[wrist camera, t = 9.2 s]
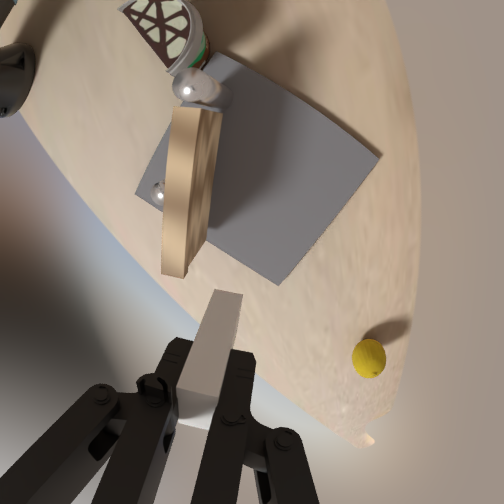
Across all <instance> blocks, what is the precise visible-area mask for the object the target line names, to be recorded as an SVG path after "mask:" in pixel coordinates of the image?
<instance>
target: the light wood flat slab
mask: <svg viewBox="0 0 504 504" xmlns="http://www.w3.org/2000/svg"><path fill="white" fill-rule="evenodd" d="M222 117H223V113H219V112H214V111H209V110H205V109H202V108H191V107H176V106H174V108H173V115H172V122H171V130H170V138H169V147H168V156H167V166H166V177H165V190H164V205H163V223H162V252H161V274H164V275H168V276H173V277H177V278H181V279H184V277H185V276H186V274H187V273H188V266H189V265H190V263H191V262H192V260H193V259H194V257H195V256H196V254H197V253H198V251H199V250H200V248H201V247H202V245H203V244H204V242H205V241H206V238H207V228H208V220H209V211H210V203H211V194H212V187H213V179H214V171H215V164H216V157H217V150H218V143H219V137H220V130H221V124H222Z"/></svg>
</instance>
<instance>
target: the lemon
mask: <svg viewBox="0 0 504 504" xmlns="http://www.w3.org/2000/svg"><path fill="white" fill-rule="evenodd" d="M352 361H353V365H354V368H355V369H356V371H357V373H358V374H359V375H361V376H362V377H365V378H374V377H376V376H378V375H379V374H380V373H381V372H382V371H383V370H384V368H385V365H386V354H385V350H384V348H383V347H382V345H381V344H380V343H379V342H378V341H376V340H373V339H365V340H362V341H361V342H359V343H358V344H357V345H356V346H355V348H354V350H353V354H352Z"/></svg>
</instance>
